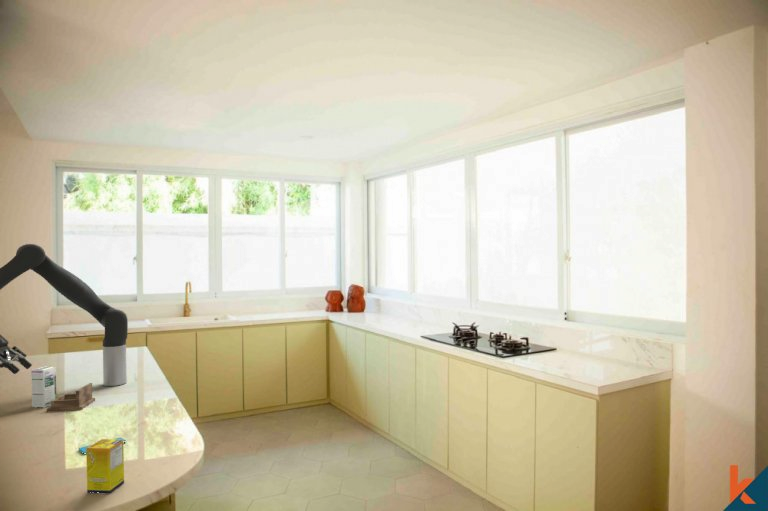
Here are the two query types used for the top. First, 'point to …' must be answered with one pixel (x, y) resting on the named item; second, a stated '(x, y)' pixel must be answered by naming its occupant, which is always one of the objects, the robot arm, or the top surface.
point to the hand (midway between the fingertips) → (23, 369)
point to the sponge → (83, 449)
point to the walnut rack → (73, 400)
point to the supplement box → (105, 465)
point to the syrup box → (43, 386)
